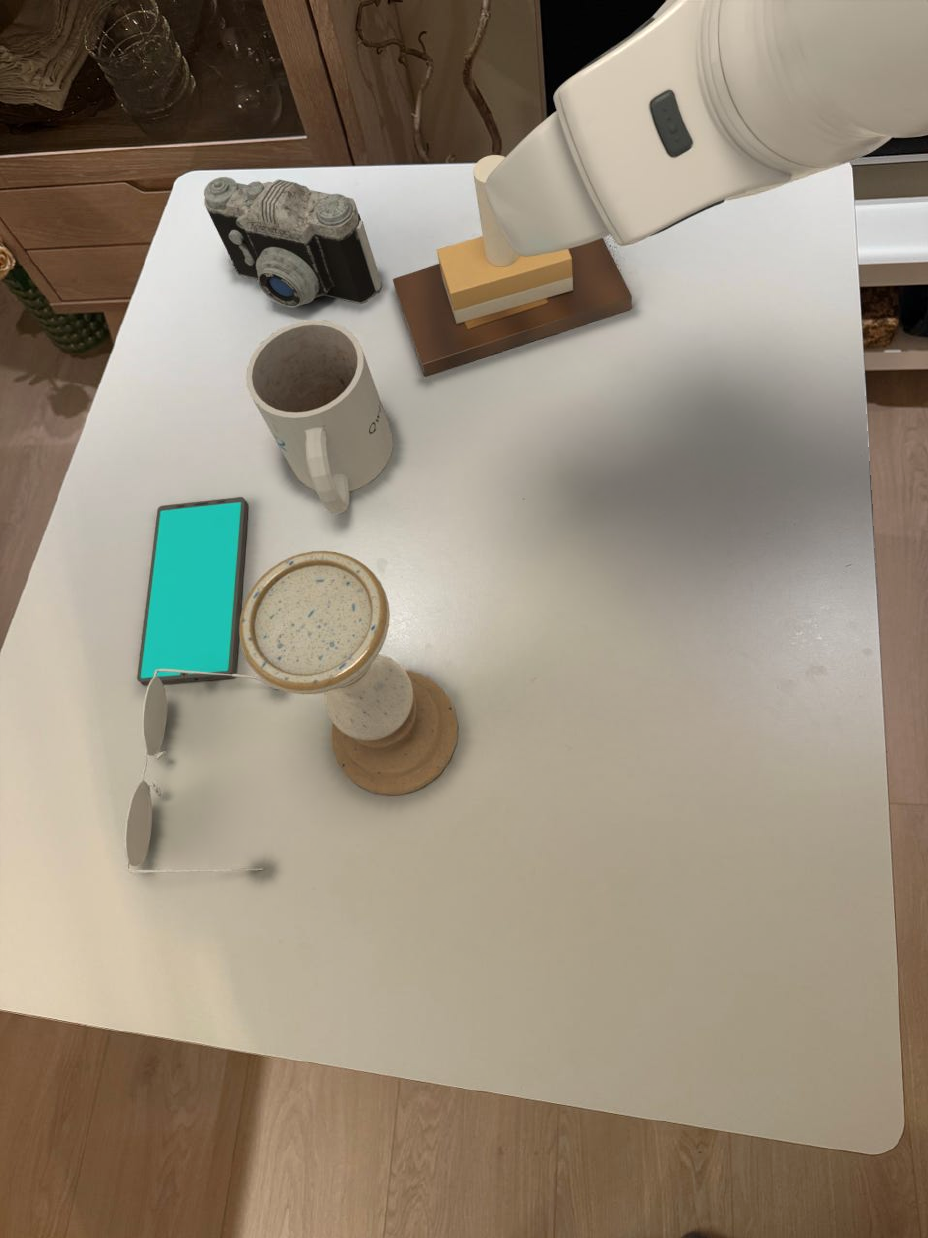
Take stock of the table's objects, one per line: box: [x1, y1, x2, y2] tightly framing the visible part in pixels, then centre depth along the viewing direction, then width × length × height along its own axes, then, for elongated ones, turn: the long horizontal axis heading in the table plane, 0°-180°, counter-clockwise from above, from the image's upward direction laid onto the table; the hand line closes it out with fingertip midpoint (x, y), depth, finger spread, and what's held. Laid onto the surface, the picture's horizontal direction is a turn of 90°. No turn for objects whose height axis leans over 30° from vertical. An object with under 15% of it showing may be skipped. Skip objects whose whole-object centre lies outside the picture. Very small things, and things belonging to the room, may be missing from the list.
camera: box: [203, 176, 382, 309], centre depth 76 cm, size 15×7×10 cm, turn 67°
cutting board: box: [392, 237, 633, 377], centre depth 76 cm, size 18×10×2 cm, turn 106°
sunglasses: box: [123, 669, 279, 874], centre depth 61 cm, size 14×8×5 cm, turn 0°
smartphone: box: [136, 496, 249, 686], centre depth 69 cm, size 7×1×15 cm
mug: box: [245, 319, 394, 514], centre depth 68 cm, size 12×9×10 cm
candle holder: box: [239, 550, 459, 796], centre depth 53 cm, size 9×9×20 cm
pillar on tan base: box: [436, 154, 573, 324], centre depth 70 cm, size 10×5×12 cm, turn 104°
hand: (623, 146), depth 48 cm, fingers open, 8 cm apart
